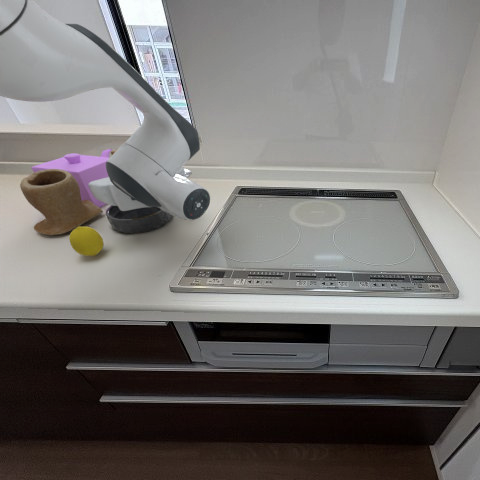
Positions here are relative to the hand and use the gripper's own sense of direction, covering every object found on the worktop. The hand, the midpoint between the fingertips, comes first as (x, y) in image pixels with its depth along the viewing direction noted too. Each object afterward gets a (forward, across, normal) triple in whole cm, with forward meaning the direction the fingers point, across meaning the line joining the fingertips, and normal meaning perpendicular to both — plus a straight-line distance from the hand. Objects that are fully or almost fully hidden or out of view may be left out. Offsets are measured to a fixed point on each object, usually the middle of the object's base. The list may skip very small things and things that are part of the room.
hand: (126, 172), depth 68 cm
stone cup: (+13, +12, +14) cm, 23 cm away
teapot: (+27, +2, +14) cm, 31 cm away
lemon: (-7, +15, +14) cm, 22 cm away
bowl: (0, 0, +14) cm, 14 cm away
